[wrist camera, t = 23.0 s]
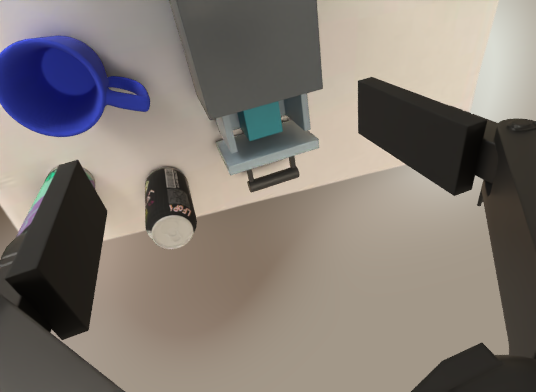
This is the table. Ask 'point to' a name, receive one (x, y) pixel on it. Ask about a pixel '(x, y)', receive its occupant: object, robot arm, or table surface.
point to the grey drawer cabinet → (249, 51)
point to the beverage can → (169, 208)
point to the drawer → (268, 144)
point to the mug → (61, 86)
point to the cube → (261, 121)
